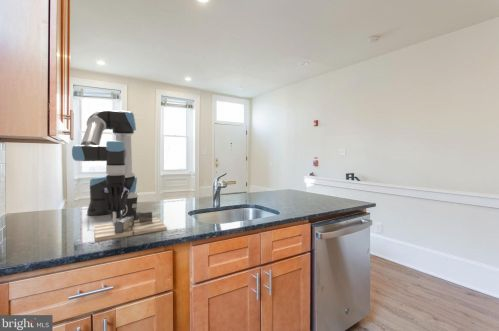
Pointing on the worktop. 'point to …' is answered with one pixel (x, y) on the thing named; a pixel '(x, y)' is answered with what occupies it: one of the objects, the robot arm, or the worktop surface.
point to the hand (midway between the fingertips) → (116, 225)
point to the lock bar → (124, 224)
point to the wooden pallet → (139, 227)
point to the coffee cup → (130, 205)
